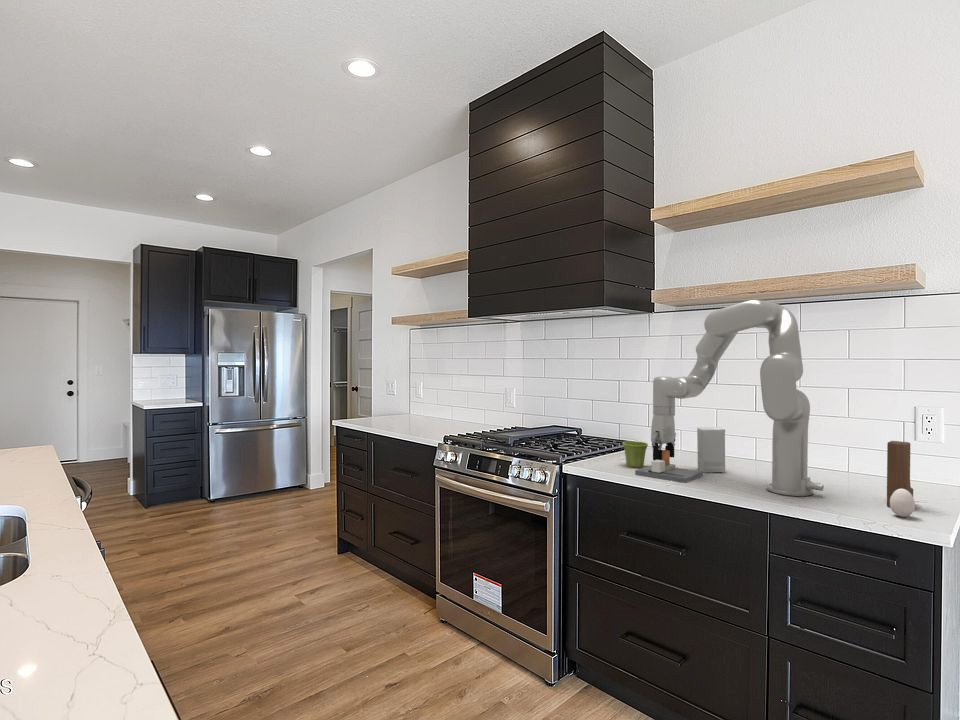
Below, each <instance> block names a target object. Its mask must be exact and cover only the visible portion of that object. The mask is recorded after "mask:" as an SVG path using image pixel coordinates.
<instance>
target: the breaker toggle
mask: <svg viewBox="0 0 960 720" xmlns="http://www.w3.org/2000/svg"><path fill="white" fill-rule="evenodd" d="M650 466H651V471H652V472H658V473H660V472H663V471H665V461H663V460H652V461H651V465H650Z"/></svg>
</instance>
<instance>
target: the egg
mask: <svg viewBox="0 0 960 720" xmlns="http://www.w3.org/2000/svg"><path fill="white" fill-rule="evenodd" d="M889 508H890V509H891V511H892V512H893V513H894V514H895V516H897V517H901V518H906V517H910V516H911V515H912V514H913V513H914V512H915V508H916V502H915V499H914V495H913V496H912V495H911V493H910V492H908V491H907V490H905V489H898V490H896V491H895V492H894V493H893V494H892V496H891V498H890V507H889Z"/></svg>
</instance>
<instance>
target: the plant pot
mask: <svg viewBox="0 0 960 720" xmlns="http://www.w3.org/2000/svg"><path fill="white" fill-rule="evenodd" d="M622 446H623V449H624V455H625V463H626V464H625V465H626V467H628V466H629V468H635V467H641V468H644V465H645V460H646V459H645V458H646V452H647V449H648V448H647V447H648V446H649V443H648V442H643V441H637V440H635V441H631V440H630V441H623V442H622Z"/></svg>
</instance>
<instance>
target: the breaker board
mask: <svg viewBox="0 0 960 720" xmlns="http://www.w3.org/2000/svg"><path fill="white" fill-rule="evenodd" d="M634 471H635V473H634V475H636V476H640V477H641V476H642V477H648V478H653V479H659V480H666V481H671V480H672V481H671V482H677V481H678V483H683V484H686V483H688V482H689V483H690V482H691V481H694V480H696V479H698V478H701V477H703V474H704V473H703V472H702V471H700V470H695V469H686V468H680V467H675V468H672V469H669V470H665V471H663V472H660V473H658V472H652V471H651V465H648V466H645V467H644V466H643V467H641V468H637V469H635V470H634Z"/></svg>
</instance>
